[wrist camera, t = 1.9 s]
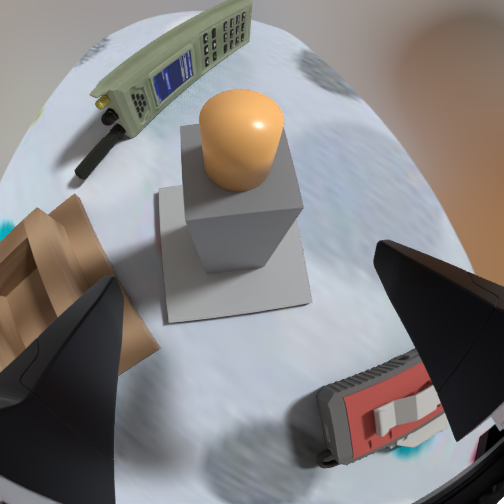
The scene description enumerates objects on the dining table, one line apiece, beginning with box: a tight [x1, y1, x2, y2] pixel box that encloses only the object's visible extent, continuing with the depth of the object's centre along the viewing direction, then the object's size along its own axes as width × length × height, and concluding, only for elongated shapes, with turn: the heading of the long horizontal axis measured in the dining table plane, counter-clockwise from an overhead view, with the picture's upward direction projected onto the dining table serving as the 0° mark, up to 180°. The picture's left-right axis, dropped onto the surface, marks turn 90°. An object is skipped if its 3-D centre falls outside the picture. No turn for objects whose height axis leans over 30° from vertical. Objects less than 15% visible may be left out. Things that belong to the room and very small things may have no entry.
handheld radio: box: [74, 0, 252, 180], centre depth 21 cm, size 7×3×25 cm
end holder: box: [0, 194, 161, 376], centre depth 15 cm, size 14×14×5 cm
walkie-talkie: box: [317, 348, 447, 468], centre depth 17 cm, size 9×4×20 cm
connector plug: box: [180, 89, 304, 274], centre depth 14 cm, size 4×4×13 cm
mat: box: [159, 185, 312, 323], centre depth 20 cm, size 10×10×1 cm
